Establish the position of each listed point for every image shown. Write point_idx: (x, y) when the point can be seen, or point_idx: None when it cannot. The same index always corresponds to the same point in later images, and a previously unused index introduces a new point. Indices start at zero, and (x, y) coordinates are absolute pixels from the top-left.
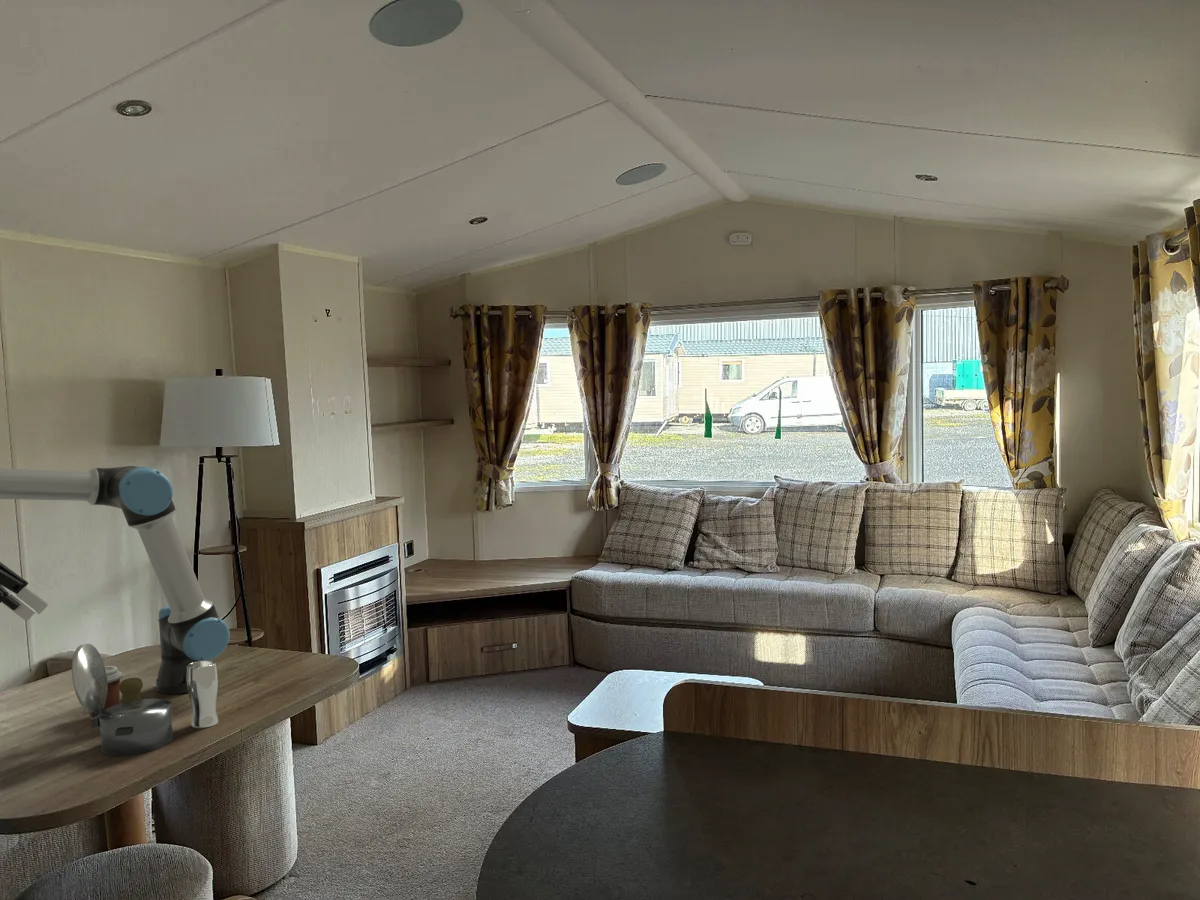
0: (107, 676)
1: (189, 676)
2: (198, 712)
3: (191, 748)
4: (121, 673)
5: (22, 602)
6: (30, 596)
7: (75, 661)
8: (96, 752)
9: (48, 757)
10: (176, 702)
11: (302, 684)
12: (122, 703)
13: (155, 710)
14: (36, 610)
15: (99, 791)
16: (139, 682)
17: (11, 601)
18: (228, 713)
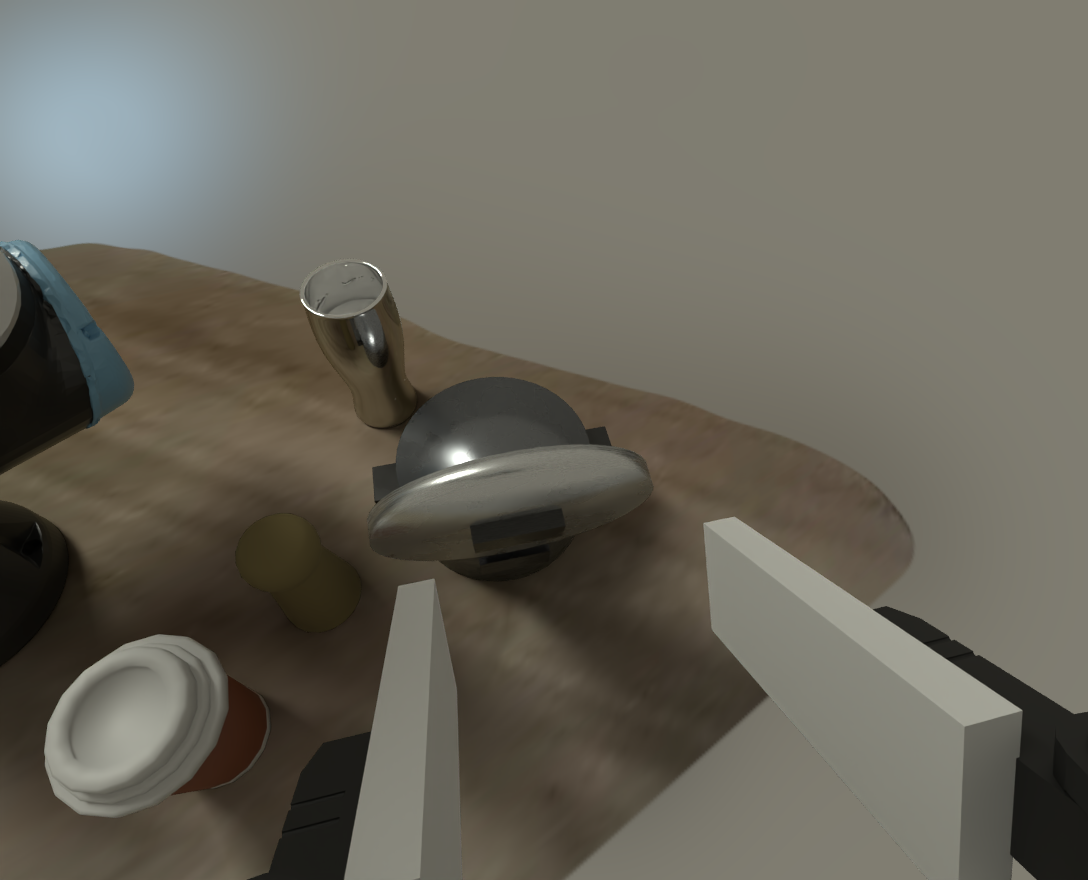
0: (188, 663)
1: (385, 322)
2: (405, 380)
3: (541, 373)
4: (128, 644)
5: (831, 587)
6: (435, 755)
7: (624, 458)
8: (555, 573)
9: (588, 701)
10: (163, 548)
11: (144, 300)
12: None
13: (508, 398)
14: (453, 706)
15: (767, 445)
16: (287, 513)
17: (987, 665)
18: (320, 381)
